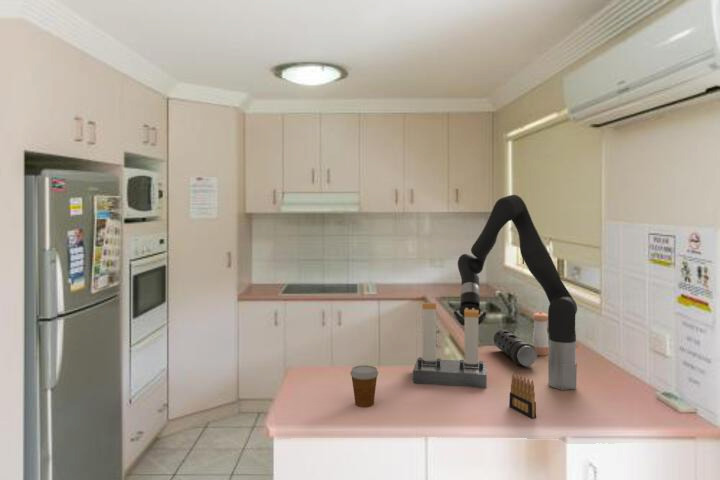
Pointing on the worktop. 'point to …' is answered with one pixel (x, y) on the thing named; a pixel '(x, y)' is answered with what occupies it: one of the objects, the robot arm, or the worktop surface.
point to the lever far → (429, 333)
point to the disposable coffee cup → (364, 384)
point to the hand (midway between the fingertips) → (469, 334)
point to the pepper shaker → (540, 333)
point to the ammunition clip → (522, 396)
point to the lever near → (471, 338)
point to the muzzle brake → (515, 348)
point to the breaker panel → (450, 373)
